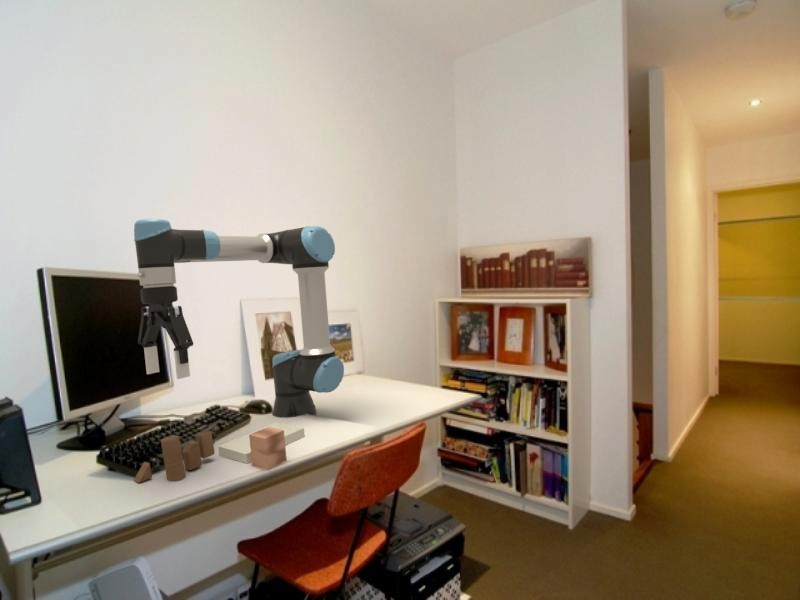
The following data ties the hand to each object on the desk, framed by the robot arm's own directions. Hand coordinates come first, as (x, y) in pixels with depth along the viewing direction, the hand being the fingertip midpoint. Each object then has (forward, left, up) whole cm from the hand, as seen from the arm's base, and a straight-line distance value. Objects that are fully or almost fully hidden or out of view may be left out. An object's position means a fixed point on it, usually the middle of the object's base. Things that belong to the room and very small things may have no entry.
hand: (167, 375), depth 105 cm
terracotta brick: (-16, +14, -26) cm, 33 cm away
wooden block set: (-2, -2, -26) cm, 26 cm away
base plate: (-23, +3, -26) cm, 34 cm away
